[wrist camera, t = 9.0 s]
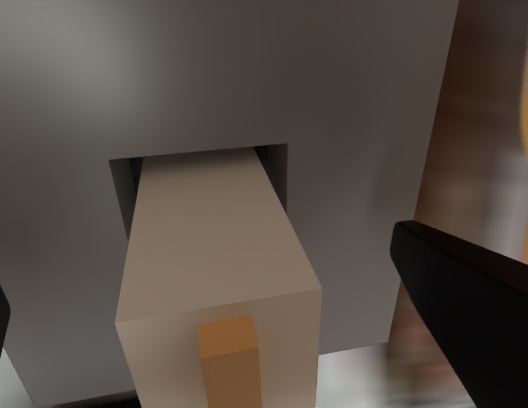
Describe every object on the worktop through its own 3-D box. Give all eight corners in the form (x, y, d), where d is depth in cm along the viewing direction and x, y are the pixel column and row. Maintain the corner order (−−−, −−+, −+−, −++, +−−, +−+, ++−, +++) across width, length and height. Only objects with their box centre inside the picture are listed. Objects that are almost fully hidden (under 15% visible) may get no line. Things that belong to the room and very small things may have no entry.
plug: (251, 217, 13) (325, 439, 7) (162, 228, 13) (151, 480, 6) (247, 134, 12) (336, 317, 5) (146, 144, 11) (108, 359, 5)
